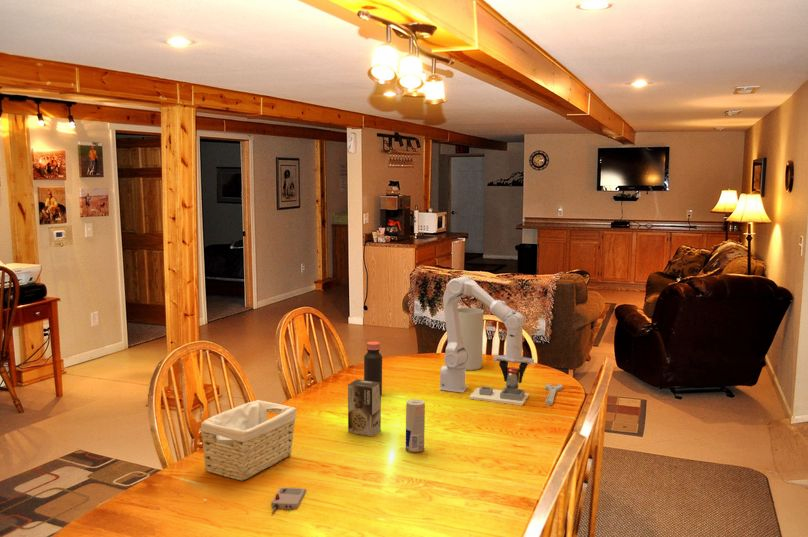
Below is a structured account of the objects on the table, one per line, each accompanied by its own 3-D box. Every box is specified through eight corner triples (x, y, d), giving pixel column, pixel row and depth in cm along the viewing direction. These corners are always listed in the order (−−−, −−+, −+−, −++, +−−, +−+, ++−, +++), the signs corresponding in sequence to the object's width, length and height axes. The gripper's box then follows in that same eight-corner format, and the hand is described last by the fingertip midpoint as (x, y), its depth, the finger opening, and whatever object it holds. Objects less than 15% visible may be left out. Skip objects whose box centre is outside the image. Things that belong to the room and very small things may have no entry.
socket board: (469, 399, 256) (469, 391, 255) (476, 390, 267) (477, 382, 267) (522, 405, 249) (523, 397, 249) (528, 396, 260) (528, 388, 260)
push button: (503, 387, 254) (504, 369, 253) (507, 384, 259) (509, 366, 258) (516, 389, 252) (517, 371, 251) (520, 386, 256) (521, 368, 256)
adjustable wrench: (552, 407, 249) (552, 402, 249) (534, 405, 252) (534, 400, 251) (563, 388, 272) (563, 383, 272) (547, 386, 275) (547, 381, 274)
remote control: (308, 489, 181) (307, 478, 181) (293, 517, 166) (293, 506, 165) (283, 487, 182) (283, 477, 181) (266, 516, 166) (266, 504, 166)
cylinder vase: (451, 369, 295) (453, 312, 292) (454, 362, 307) (455, 307, 304) (481, 371, 293) (482, 313, 290) (482, 363, 305) (484, 308, 302)
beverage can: (426, 447, 209) (427, 399, 207) (420, 454, 204) (421, 405, 202) (409, 444, 211) (409, 397, 209) (403, 451, 206) (403, 403, 204)
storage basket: (255, 444, 210) (255, 397, 208) (299, 454, 203) (298, 406, 201) (198, 473, 189) (197, 421, 187) (244, 486, 182) (243, 432, 180)
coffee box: (381, 430, 223) (382, 382, 221) (372, 437, 217) (372, 387, 215) (356, 426, 226) (357, 378, 224) (347, 432, 221) (347, 383, 219)
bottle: (385, 395, 258) (385, 343, 256) (369, 398, 255) (370, 346, 252) (375, 391, 264) (376, 340, 261) (360, 394, 260) (360, 342, 258)
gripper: (492, 346, 252) (491, 382, 254) (532, 350, 248) (530, 386, 249) (496, 342, 259) (495, 377, 261) (535, 345, 254) (533, 381, 256)
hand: (513, 381), depth 255 cm, fingers closed on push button, 5 cm apart
